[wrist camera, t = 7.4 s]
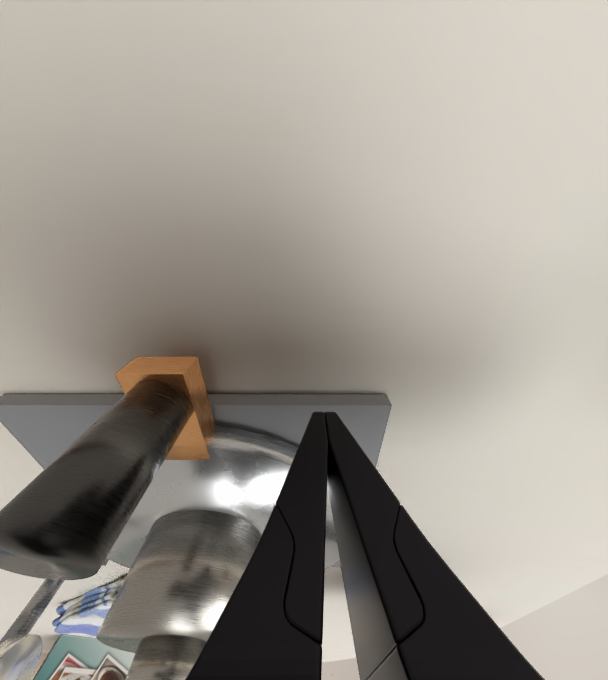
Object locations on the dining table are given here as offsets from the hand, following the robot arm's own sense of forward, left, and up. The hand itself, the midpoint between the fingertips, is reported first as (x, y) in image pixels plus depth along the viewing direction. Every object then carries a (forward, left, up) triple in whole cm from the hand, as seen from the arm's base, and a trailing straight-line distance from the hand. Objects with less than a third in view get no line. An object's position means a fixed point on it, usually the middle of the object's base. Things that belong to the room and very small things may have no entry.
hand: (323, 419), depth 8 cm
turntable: (-10, +6, -2) cm, 12 cm away
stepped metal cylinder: (-11, +7, -1) cm, 13 cm away
